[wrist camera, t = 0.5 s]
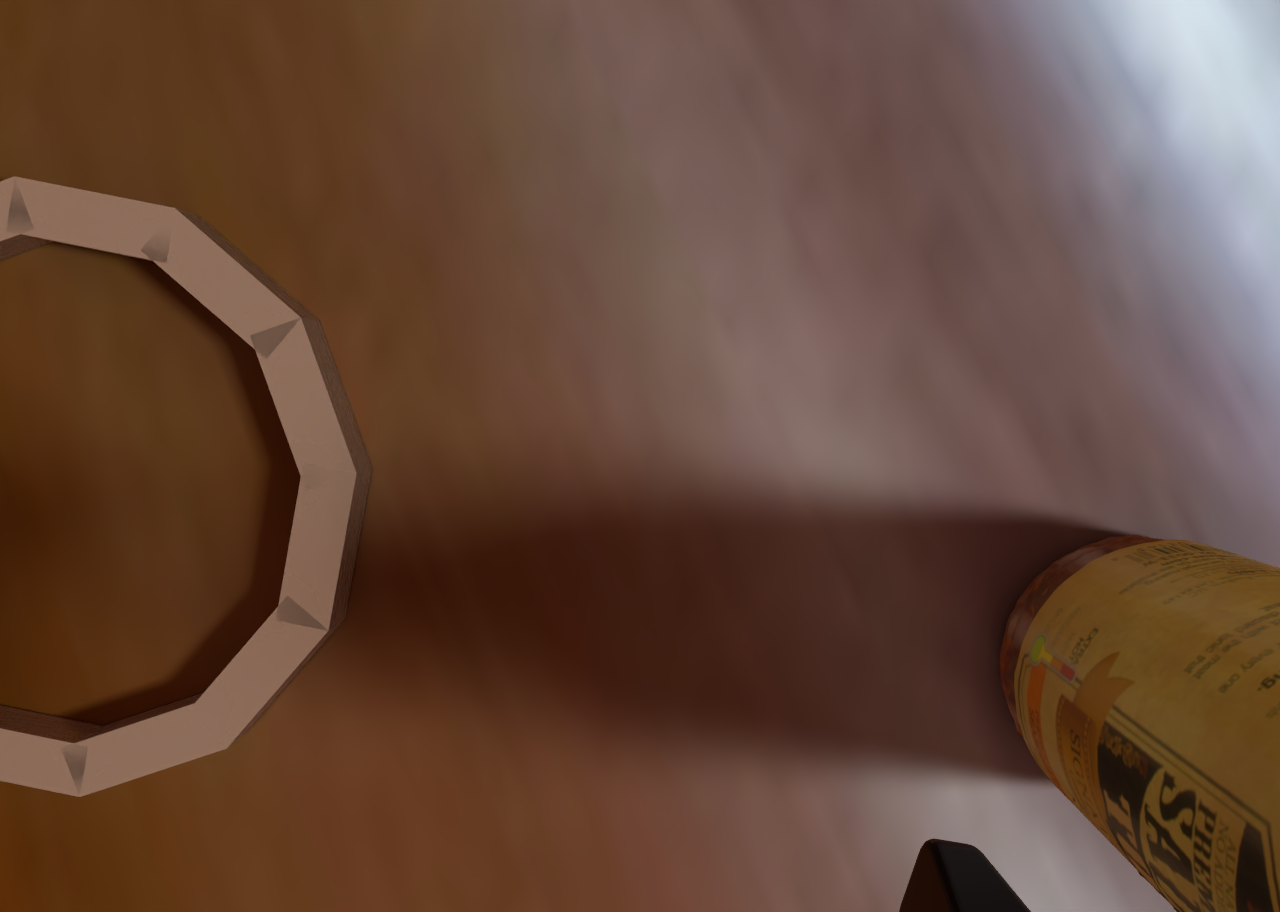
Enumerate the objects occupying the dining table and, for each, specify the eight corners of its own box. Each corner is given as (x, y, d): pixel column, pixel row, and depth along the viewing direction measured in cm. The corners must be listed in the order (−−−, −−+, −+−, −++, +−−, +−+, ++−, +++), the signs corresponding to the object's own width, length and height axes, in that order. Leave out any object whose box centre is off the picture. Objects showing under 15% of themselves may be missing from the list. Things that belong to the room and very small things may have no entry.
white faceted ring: (118, 880, 25) (91, 905, 24) (-316, 512, 25) (-365, 519, 23) (480, 462, 24) (471, 466, 23) (35, 73, 24) (2, 57, 23)
